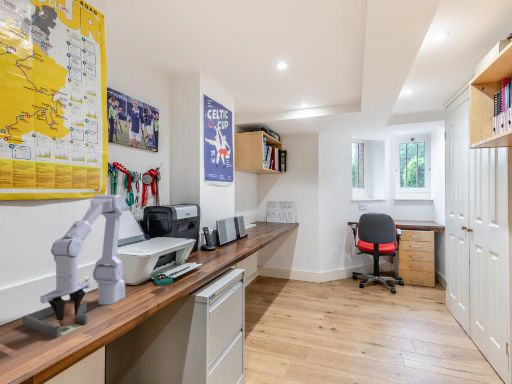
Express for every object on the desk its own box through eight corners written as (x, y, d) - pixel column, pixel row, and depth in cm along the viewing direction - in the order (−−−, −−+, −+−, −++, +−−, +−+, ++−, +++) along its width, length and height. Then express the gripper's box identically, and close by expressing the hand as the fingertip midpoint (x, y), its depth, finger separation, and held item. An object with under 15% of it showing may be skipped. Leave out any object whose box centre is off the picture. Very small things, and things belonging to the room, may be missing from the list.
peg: (69, 319, 92) (69, 299, 92) (77, 322, 91) (77, 301, 90) (56, 325, 89) (56, 303, 88) (64, 327, 87) (64, 306, 87)
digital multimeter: (157, 287, 131) (157, 281, 131) (150, 278, 143) (150, 272, 143) (173, 284, 135) (173, 278, 134) (165, 276, 147) (165, 270, 147)
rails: (70, 307, 105) (70, 299, 105) (102, 316, 98) (102, 308, 98) (23, 325, 91) (22, 316, 91) (57, 338, 84) (57, 328, 84)
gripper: (80, 267, 98) (81, 305, 98) (34, 280, 84) (34, 324, 85) (94, 270, 95) (94, 309, 95) (48, 283, 81) (48, 329, 82)
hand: (67, 316), depth 90 cm, fingers closed on peg, 4 cm apart
